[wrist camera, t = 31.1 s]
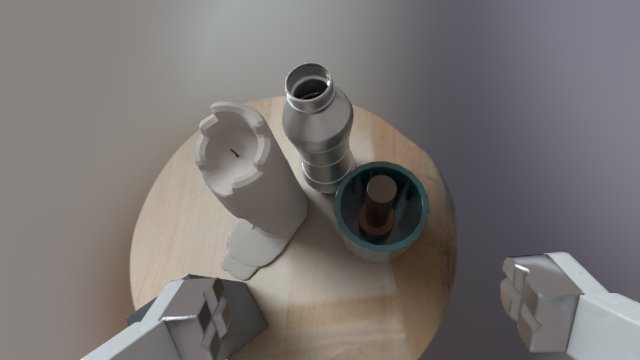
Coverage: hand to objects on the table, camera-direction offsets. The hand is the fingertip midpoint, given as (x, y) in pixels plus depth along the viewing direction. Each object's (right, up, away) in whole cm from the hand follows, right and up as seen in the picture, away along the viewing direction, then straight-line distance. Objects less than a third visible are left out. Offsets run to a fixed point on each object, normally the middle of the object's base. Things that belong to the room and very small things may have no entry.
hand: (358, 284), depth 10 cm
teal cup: (+6, -3, +31) cm, 32 cm away
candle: (-8, -3, +33) cm, 34 cm away
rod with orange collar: (+6, -2, +31) cm, 31 cm away
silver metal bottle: (0, +4, +34) cm, 35 cm away
